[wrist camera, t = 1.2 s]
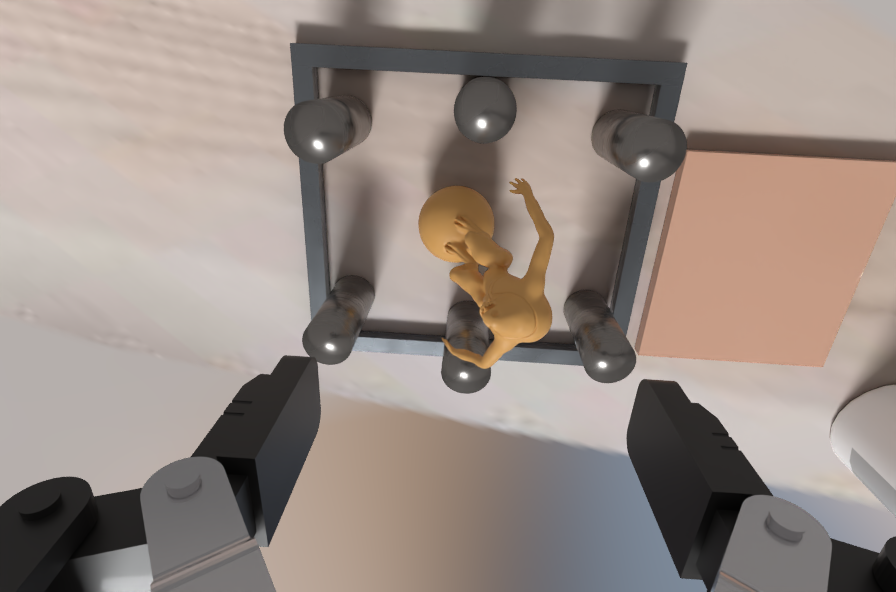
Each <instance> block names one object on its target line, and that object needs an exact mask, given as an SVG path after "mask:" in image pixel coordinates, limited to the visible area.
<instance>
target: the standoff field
mask: <svg viewBox="0 0 896 592" xmlns="http://www.w3.org/2000/svg"><path fill="white" fill-rule="evenodd" d="M290 49H291V62H292V75H293V88H294V101H295V106H293V107H292V108H291V109H290V111H289V112H288V114H287V116H286V118H285V122H284V135H285V139H286V142H287V144H288V146H289V147H290V149H291V150H292V152H293V153H294V154H295V155H296V156H298V157H299V166H300V179H301V192H302V205H303V218H304V231H305V244H306V256H307V269H308V282H309V295H310V308H311V322H310V324H309V325H308V327H307V328H306V330H305V331H304V334H303V338H302V342H303V347H304V349H305V351H306V352H307V354H308V355H309V356H310V357H315V358H316V360H317V362H319V363H322V364H327V365H333V364H338V363H341V362H343V361H344V360H346V359H347V358H348V356H349V355H350V353H351V351H367V352H382V353H397V354H412V355H427V356H443V361H442V370H441V375H442V379H443V381H444V382H445V384H446V385H447V386H448V387H449V388H450V389H452V390H454V391H456V392H459V393H467V394H468V393H474V392H477V391H479V390H481V389H482V388H484V387H485V386H486V385H487V383H488V382H489V380H490V376H491V367H489V368H487V369H483V368H480V367H478V366H477V365H475V364H474V363H472V362H469V361H465V360H462V359H460V358H458V357H457V356H454V355H453V354H452V353H451V352H450V351H449V350H448V348H447V347H446V346H445V344H444V342H443V340H442V338H443V339H446V340H447V341H448V342H449V343H450V344H451V345H452V346H453V347H454V348H455V349H465V350H469V351H471V352H473V353H475V354H479V355H481V356H482V357H483V355H484V353H485V352H486V350H487V349H488V347H489V346H490V345H491V343H492V342H493V341H494V339H489V331H488V327H487V326H486V325H485V323H484V322H483V318H482V317H481V315H480V307H479V306H478V305H477V303H476V302H473V301H462V302H459V303H457V304H455V305H454V306H453V307H452V308H451V309H450V311H449V313H448V316H447V325H446V334H445V336H433V335H418V334H402V333H387V332H372V331H361V329H362V326H363V324H364V322H365V320H366V318H367V315H368V313H369V311H370V309H371V306H372V304H373V302H374V297H375V295H374V290H373V288H372V286H371V284H370V283H369V282H368V281H367V280H365V279H364V278H362V277H359V276H354V275H350V276H345V277H343V278H341V279H340V280H339V281H338V282H337V283H336V285H335V286H334V288H333V289H332V291H331V292H330V286H329V269H328V252H327V235H326V218H325V201H324V183H323V166H322V163H326V162H328V161H330V160H332V159H334V158H336V157H337V156H339V155H341V154H342V153H344V152H346V151H348V150H349V149H351V148H353V147H355V146H356V145H358V144H360V143H361V142H363V141H364V140H365V139H366V138H367V137H368V135H369V133H370V130H371V126H372V121H371V115H370V112H369V110H368V108H367V107H366V105H365V104H364V103H363V102H362V101H360V100H359V99H357V98H355V97H353V96H347V95H345V96H337V97H330V98H322V99H319V97H318V80H317V67H322V68H342V69H361V70H381V71H400V72H420V73H440V74H459V75H479V76H498V77H518V78H538V79H557V80H577V81H596V82H616V83H636V84H655V90H654V95H653V100H652V105H651V110H650V115H649V116H648V115H643V114H639V113H634V112H630V111H625V110H613V111H610V112H608V113H606V114H604V115H603V116H602V117H601V118H600V119H599V120H598V121H597V122H596V124H595V126H594V128H593V130H592V135H591V141H592V146H593V148H594V150H595V152H596V153H597V154H598V155H599V156H600V157H602V158H604V159H605V160H607V161H608V162H610V163H612V164H613V165H615V166H616V167H618V168H620V169H621V170H623V171H624V172H626V173H628V174H629V175H631V176H632V177H634V178H636V184H635V188H634V193H633V198H632V203H631V208H630V213H629V218H628V223H627V228H626V233H625V237H624V242H623V247H622V252H621V257H620V262H619V267H618V272H617V277H616V282H615V287H614V291H613V296H612V301H611V306H610V309H609V307H608V305H607V304H606V302H605V300H604V299H603V297H602V296H601V295H600V294H599V293H597V292H595V291H592V290H581V291H578V292H576V293H574V294H572V295H571V296H570V297H569V298H568V299H567V301H566V302H565V305H564V315H565V318H566V321H567V323H568V326H569V329H570V331H571V334H572V336H573V339H574V342H575V344H576V345H572V344H557V343H541V342H530V343H526V342H522V343H519V344H517V345H516V346H515V347H514V348H513V349H511V350H510V351H508V352H506V353H504V354H503V355H502V356H501V358H500V359H499V360H503V361H518V362H534V363H549V364H564V365H579V366H584V368H585V371H586V373H587V374H588V375H589V376H590V377H591V378H592V379H593V380H595V381H598V382H601V383H613V382H617V381H620V380H622V379H624V378H625V377H627V376H628V375H629V374H630V373H631V372H632V370H633V369H634V367H635V364H636V355H635V352H634V350H633V348H632V346H631V345H630V343H629V341H628V340H627V338H626V334H627V330H628V325H629V321H630V316H631V312H632V307H633V303H634V298H635V294H636V290H637V285H638V281H639V276H640V272H641V267H642V263H643V258H644V254H645V249H646V245H647V241H648V236H649V232H650V227H651V223H652V218H653V214H654V209H655V205H656V201H657V196H658V192H659V187H660V183H661V180H664V179H666V178H668V177H669V176H671V175H672V174H673V173H674V172H675V171H676V170H677V169H678V168H679V167H680V166H681V164H682V162H683V160H684V158H685V155H686V150H687V141H686V137H685V134H684V132H683V130H682V129H681V128H680V127H679V126H678V125H677V124H676V123H674V120H675V116H676V111H677V107H678V103H679V98H680V94H681V89H682V85H683V80H684V76H685V71H686V67H687V63H681V62H661V61H641V60H621V59H601V58H581V57H561V56H540V55H520V54H500V53H480V52H460V51H440V50H420V49H400V48H380V47H360V46H340V45H320V44H300V43H290ZM516 111H517V107H516V101H515V97H514V95H513V93H512V91H511V90H510V88H509V87H508V86H507V85H506V84H505V83H504V82H502V81H500V80H499V79H496V78H493V77H478V78H475V79H473V80H471V81H470V82H468V83H467V84H466V85H465V86H464V87H463V88H462V89H461V91H460V92H459V94H458V96H457V98H456V101H455V105H454V117H455V121H456V124H457V126H458V128H459V130H460V131H461V132H462V134H463V135H464V136H466V137H467V138H468V139H470V140H472V141H474V142H477V143H492V142H495V141H497V140H499V139H501V138H502V137H504V136H505V135H506V134H507V133H508V132H509V130H510V129H511V127H512V126H513V124H514V121H515V118H516Z"/></svg>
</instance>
